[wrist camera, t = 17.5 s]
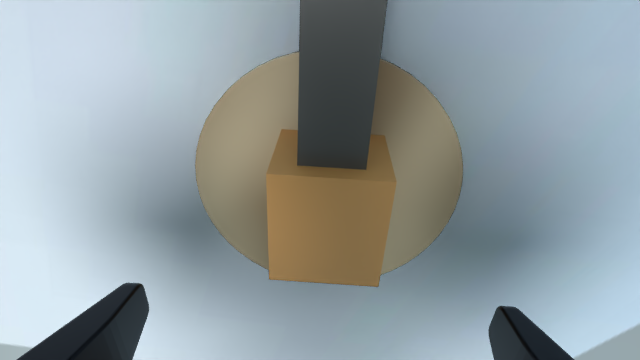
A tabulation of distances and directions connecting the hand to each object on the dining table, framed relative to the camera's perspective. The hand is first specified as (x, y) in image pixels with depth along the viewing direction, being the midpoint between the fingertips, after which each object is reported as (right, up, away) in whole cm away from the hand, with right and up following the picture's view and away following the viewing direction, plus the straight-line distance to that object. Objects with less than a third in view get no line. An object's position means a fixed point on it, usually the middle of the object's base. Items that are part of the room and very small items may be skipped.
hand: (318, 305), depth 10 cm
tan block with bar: (+1, +7, +2) cm, 7 cm away
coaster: (0, +3, +5) cm, 6 cm away
